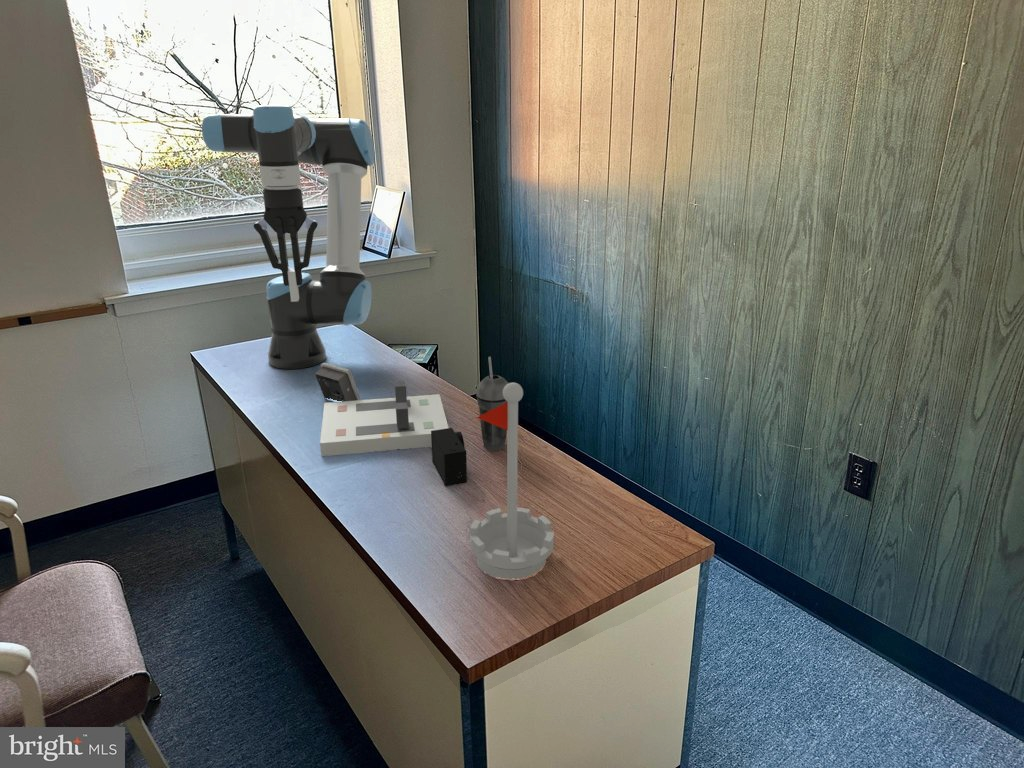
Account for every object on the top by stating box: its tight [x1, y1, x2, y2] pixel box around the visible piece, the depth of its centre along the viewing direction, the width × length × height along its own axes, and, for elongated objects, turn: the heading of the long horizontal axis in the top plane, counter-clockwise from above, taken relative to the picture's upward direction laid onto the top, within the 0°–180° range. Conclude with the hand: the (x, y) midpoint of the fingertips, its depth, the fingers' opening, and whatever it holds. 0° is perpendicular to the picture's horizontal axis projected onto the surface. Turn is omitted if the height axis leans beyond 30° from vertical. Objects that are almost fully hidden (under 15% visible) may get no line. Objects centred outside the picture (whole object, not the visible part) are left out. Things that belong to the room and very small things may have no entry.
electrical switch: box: [314, 362, 362, 402], centre depth 163 cm, size 9×5×9 cm, turn 57°
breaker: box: [393, 380, 408, 403], centre depth 155 cm, size 3×2×4 cm
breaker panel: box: [319, 393, 449, 457], centre depth 151 cm, size 20×26×3 cm
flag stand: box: [469, 382, 555, 579], centre depth 104 cm, size 13×13×30 cm
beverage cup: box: [475, 356, 509, 452], centre depth 141 cm, size 7×7×20 cm
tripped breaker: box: [395, 402, 409, 429], centre depth 144 cm, size 3×2×4 cm
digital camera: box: [431, 427, 468, 488], centre depth 133 cm, size 10×5×7 cm, turn 20°
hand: (295, 299), depth 150 cm, fingers closed
